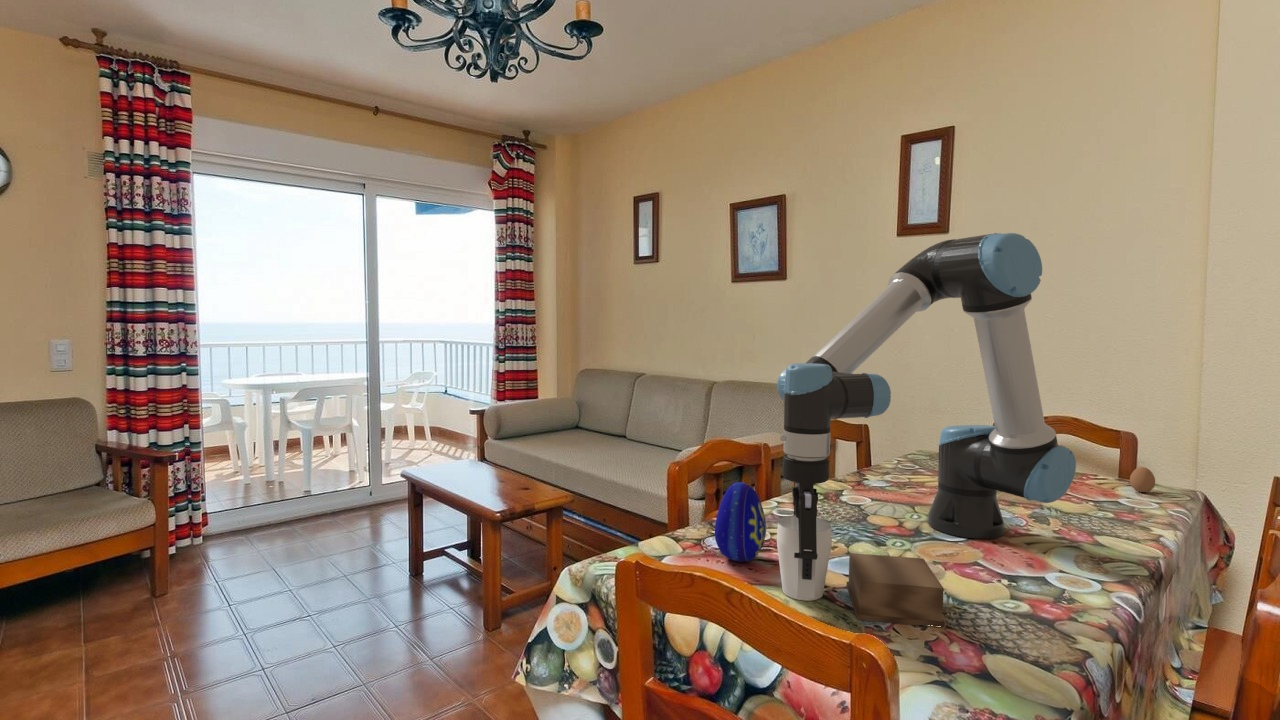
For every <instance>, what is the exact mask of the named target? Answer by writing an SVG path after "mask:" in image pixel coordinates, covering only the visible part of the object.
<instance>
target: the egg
mask: <svg viewBox="0 0 1280 720" xmlns="http://www.w3.org/2000/svg"><path fill="white" fill-rule="evenodd" d="M1129 483H1130V486H1131V487H1132V488H1133V490H1135V491H1136V492H1138V491H1140V492H1146V493H1149V492H1151V491H1152V490H1153V489H1154V488H1155V486H1156V477H1155V475H1154V474H1153V472H1152V471H1151V470H1150V469H1149V468H1147V467H1145V466H1140V467H1137V468H1135V469H1134V470H1132V473H1131V474H1130V477H1129ZM1140 492H1139V493H1140Z"/></svg>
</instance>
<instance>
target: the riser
mask: <svg viewBox="0 0 1280 720" xmlns="http://www.w3.org/2000/svg"><path fill="white" fill-rule="evenodd" d="M848 555H849V556H848V557H849V558H848V559H849V560H848V561H849V562H848V581H846V588H847V592H848V595H849V598H850V602H851V605H852V606H853V607H852V608H853V610H854V613H855V618H856V620H857V621H866V622H867V621H868V622H876V623H887V624H897V625H898V624H900V625H907V626H908V625H910V626H919V625H930V626H931V625H933V626H941V627H945V628H946V622H945V620H944V619H943V612H944V611H943V610H944V590H945V589H944V587H943V585H942V584H941V582H940V581H939V579H938V577H937V576H936V574H935V573H934V572H933V570H932V569H931V568H930V566H929V565H928V563H927V562H926V560H925V559H924V558H921V557H909V556H908V557H905V556H897V555H896V556H895V555H893V556H892V555H880V554H879V555H878V554H865V553H853V552H849V554H848ZM930 626H929V627H930Z"/></svg>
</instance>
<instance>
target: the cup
mask: <svg viewBox="0 0 1280 720" xmlns="http://www.w3.org/2000/svg"><path fill="white" fill-rule="evenodd" d="M816 540H817V555H818V557H817V560H816V567H815V599H813V598H801V597H797V567H798V558H794V554H795V553H799V524H798V518H797V517H796V516H795V515H794V514H793V515H786V516H783V517H780V518H779V519H778V520H777V531H776V546H777V555H778V563H779V571H780V579H781V581H780V582H781V588H782V592H783V593H784V594H785V595H786V596H787V597H789V598H791V599H794V600H797V601H805V602H812V601H817V600H819V599H821V598H823V595H824V591H825V585H826V579H827V573H828V567H829V562H830V561H829V560H830V557H831V551H832V544H833V543H832V525H831V523H830V522H828V521H827V520H825V519H824V518H823V519H822V518H820V517H816ZM804 551H812V550H806V549H805V550H804Z"/></svg>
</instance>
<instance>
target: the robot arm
mask: <svg viewBox="0 0 1280 720" xmlns="http://www.w3.org/2000/svg"><path fill="white" fill-rule="evenodd" d="M1042 262H1043V261H1042V259H1041V255H1040V253H1039V250H1038V249H1037V247H1036V246H1035V244H1034V243H1033V242H1032V241H1031V240H1030V239H1028V238H1026V237H1025V236H1024V235H1022V234H1019V233H1014V232H1009V233H1007V232H1006V233H1001V232H1000V233H997V232H994V233H988V234H982V235H974V236H969V237H963V238H955V239H947V240H944V241H943V240H942V241H940V242H938V243H935V244H933V245H931V246H929V247H928V248H925V249H924V250H922V251H921V252H920V253H918V254H917V255H915V256H914V257H912V258H911V259H909V261H908V262H906V263H905V264H904V265H902V266H901V267H900V268H899V269H898V270H897V271H896V272H894V273H893V275H891V276H890V278H889V280H888V286H886V288H885V289H884V290H883V291H882V292H880V293H879V295H877V296H876V297H874V299H873V300H872V301H871V302H870V303H868V305H866V306H865V308H863V309H862V310H861V311H860V312H859V313H857V315H856V316H855V317H854V318H852V319H851V320H850V321H849V322H848V323H847V324H845V326H843V328H841V329H840V330H839V331H838V333H836V334H835V335H834V336H833V337H832V338H831V339H830V340H829V341H827V343H826V344H824V345H823V346H822V347H821V348H820V349H819V350H818V351H817V352H815V354H813V355H812V356H811V358H809V359H808V360H807V361H806V362H805V363H799V362H798V363H797V362H796V363H791V364H789V365H788V366H787V367H786V369H784V370H783V371H782V372H781V373H780V374H779V376H778V377H777V378H778V379H777V382H776V389H777V393H778V395H779V397H780V399H781V400H783V433H784V434H781V435H780V436H779V440H780V441H783V453H784V454H785V455H784V456H783V457H782V477H783V478H784V479H785V480H786V481H789V482H792V483H794V482H795V483H794V484H795V485H794V487H792V492H791V493H792V504H793V515H795V516H796V517H797V518H798V524H799V553H795V554H794V558H798V567H797V597H801V598H813V599H815V567H816V560H817V557H818V555H817V540H816V518H818V517H817V515H818V503H819V492H818V490H817V488H815V487H814V485H815V484H823V483H825V482H827V481H829V477H830V459H828V456H830V454H831V421H832V420H836V419H852V418H853V419H855V418H856V419H857V418H865V419H868V418H871V417H874V416H875V417H877V416H880V415H883V414H884V413H885V412H886V411H888V408H889V406H890V404H891V401H892V400H891V398H892V396H891V395H892V392H891V387H890V385H889V382H888V381H887V380H886V379H885V378H884V377H883V376H882V375H879V374H878V373H877V374H876V373H867V372H862V373H853V372H855V371H856V370H857V369H858V368H859V367H860V366H861V365H862V364H863V363H864V362H865V361H867V360H868V358H869V357H870V356H872V355H873V354H874V353H875V352H876V351H877V350H878V349H879V348H880V347H881V346H882V345H883V344H884V343H885V342H886V341H887V340H888V339H889V338H891V337H892V336H893V335H894V334H895V332H897V331H898V330H899V329H900V328H901V327H902V326H903V325H904V324H905V323H907V321H909V319H910V318H911V317H913V316H914V315H915V314H916V313H917V312H923V311H926V310H927V309H928V308H930V306H931V305H932V304H934V303H936V302H938V301H942V300H945V299H956V298H957V299H958V298H959V299H960V303H961V308H962V311H963V312H964V313H965V314H966V315H968V316H970V317H971V318H973V321H974V327H975V331H976V336H977V341H978V346H979V352H980V353H979V354H980V357H981V361H982V367H983V372H984V377H985V378H984V379H985V383H986V387H987V388H986V389H987V393H988V398H989V402H990V403H989V404H990V407H991V413H992V418H993V424H994V425H990V424H989V425H987V424H986V425H985V424H983V425H982V424H980V425H979V424H974V425H973V424H971V425H969V424H968V425H967V424H966V425H950V426H949V425H948V426H945V427H944V428H942V430H941V431H940V435H939V437H940V438H939V443H938V473H937V475H938V477H937V481H938V483H937V492H936V494H935V497H934V499H933V502H932V504H931V507H929V511H928V515H927V516H928V518H927V523H928V526H930V527H931V528H933V529H934V530H936V531H939V532H941V533H944V534H947V535H952V536H955V537H962V538H967V539H968V538H969V539H979V540H988V539H989V540H990V539H991V540H992V539H997V538H998V539H999V538H1000V537H1002V536H1004V535H1005V520H1004V517H1003V515H1002V512H1001V508H1000V504H999V502H998V498H997V492H1002V493H1005V494H1009V495H1012V496H1015V497H1020V498H1023V499H1025V500H1027V501H1031V502H1032V501H1033V502H1037V503H1038V502H1039V503H1043V504H1049V503H1054V502H1056V501H1058V500H1060V499H1061V498H1062V497H1063V496H1065V494H1066V493H1067V492H1068V490H1069V489H1070V488H1071V485H1072V483H1073V480H1074V478H1075V475H1076V472H1077V471H1076V469H1077V462H1076V456H1075V454H1074V452H1073V451H1072V450H1071V449H1070V448H1068V447H1066V446H1065V445H1059V443H1058V439H1057V433H1056V430H1055V429H1054V428H1053V427H1051V426H1050V425H1048V424H1047V423H1046V421H1045V416H1044V411H1043V406H1042V402H1041V394H1040V390H1039V389H1040V388H1039V383H1038V379H1037V373H1036V367H1035V363H1034V362H1035V361H1034V356H1033V350H1032V344H1031V340H1030V334H1029V328H1028V323H1027V322H1028V321H1027V318H1026V313H1025V308H1026V307H1027V306H1028V305H1029V304H1030V302H1032V300H1033V298H1032V294H1033V292H1035V291H1036V290H1037V288H1038V287H1039V285H1040V283H1041V282H1042V281H1041V278H1040V277H1041V276H1042V275H1043V263H1042ZM805 549H806V550H812V551H804V550H805Z"/></svg>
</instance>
